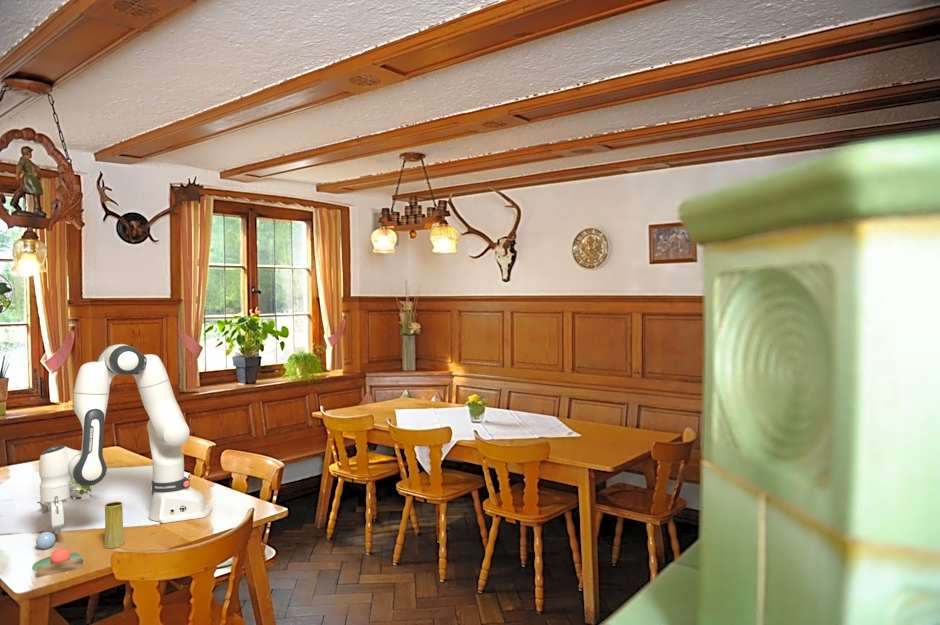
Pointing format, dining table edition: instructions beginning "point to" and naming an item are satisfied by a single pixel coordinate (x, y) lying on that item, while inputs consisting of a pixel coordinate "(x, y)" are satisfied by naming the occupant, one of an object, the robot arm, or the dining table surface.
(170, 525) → the dining table surface
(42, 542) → the blue ball
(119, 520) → the vase
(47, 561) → the green mark
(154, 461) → the robot arm
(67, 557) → the red ball
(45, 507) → the game die
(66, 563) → the walnut stop
